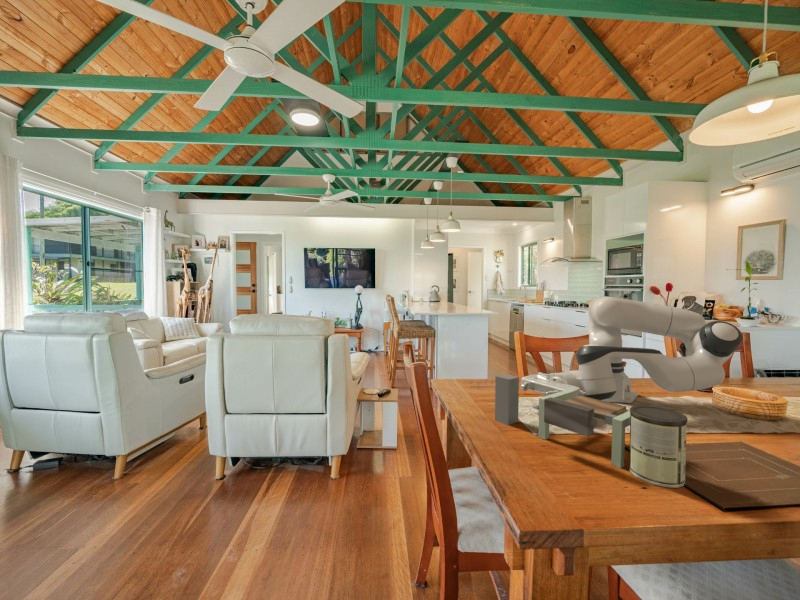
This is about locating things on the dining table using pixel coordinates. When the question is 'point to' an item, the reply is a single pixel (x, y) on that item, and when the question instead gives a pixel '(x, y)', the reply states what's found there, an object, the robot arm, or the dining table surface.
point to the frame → (616, 421)
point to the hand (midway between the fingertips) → (533, 391)
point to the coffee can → (658, 445)
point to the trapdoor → (578, 413)
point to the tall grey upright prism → (506, 399)
